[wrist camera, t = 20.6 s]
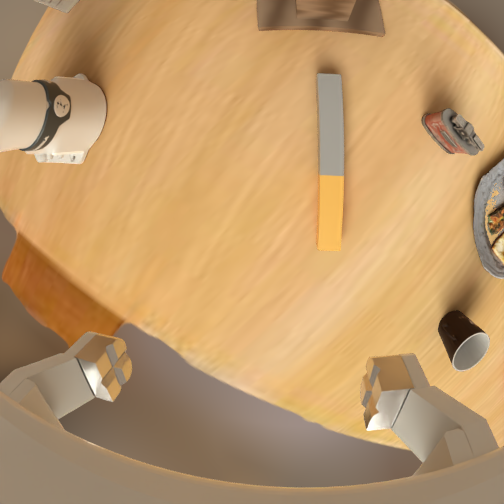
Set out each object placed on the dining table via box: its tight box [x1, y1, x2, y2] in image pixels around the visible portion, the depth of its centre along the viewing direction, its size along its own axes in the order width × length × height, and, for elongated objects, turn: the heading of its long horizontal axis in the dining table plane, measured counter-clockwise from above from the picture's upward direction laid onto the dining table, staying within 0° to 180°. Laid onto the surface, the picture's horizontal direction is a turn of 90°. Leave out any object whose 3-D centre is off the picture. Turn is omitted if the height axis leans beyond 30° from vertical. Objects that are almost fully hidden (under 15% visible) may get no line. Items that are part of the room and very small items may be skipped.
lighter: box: [422, 109, 484, 155], centre depth 31 cm, size 8×3×10 cm, turn 53°
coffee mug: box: [438, 310, 490, 371], centre depth 41 cm, size 12×9×10 cm
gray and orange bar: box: [316, 73, 344, 251], centre depth 39 cm, size 3×26×3 cm, turn 1°
